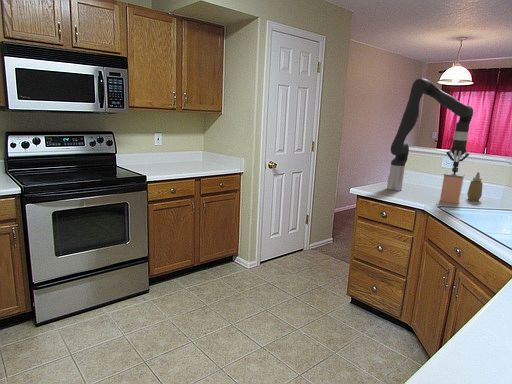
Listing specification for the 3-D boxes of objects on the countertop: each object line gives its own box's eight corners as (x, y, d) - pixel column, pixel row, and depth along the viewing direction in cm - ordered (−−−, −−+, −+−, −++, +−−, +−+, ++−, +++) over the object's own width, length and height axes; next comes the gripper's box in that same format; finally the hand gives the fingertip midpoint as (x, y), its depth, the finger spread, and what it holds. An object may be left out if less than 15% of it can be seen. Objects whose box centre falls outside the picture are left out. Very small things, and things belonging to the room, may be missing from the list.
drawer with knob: (439, 199, 228) (445, 167, 223) (442, 196, 236) (447, 165, 232) (458, 202, 222) (464, 169, 218) (460, 199, 231) (465, 167, 226)
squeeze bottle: (473, 201, 231) (478, 173, 227) (463, 198, 239) (468, 171, 235) (483, 201, 234) (489, 173, 230) (473, 198, 241) (478, 171, 237)
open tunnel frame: (439, 201, 228) (444, 175, 224) (442, 198, 236) (446, 173, 233) (457, 204, 223) (462, 178, 219) (459, 201, 231) (463, 176, 227)
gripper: (447, 138, 222) (442, 167, 225) (472, 140, 215) (467, 169, 218) (448, 138, 228) (444, 165, 231) (473, 140, 221) (468, 168, 224)
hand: (455, 167), depth 225 cm, fingers closed
